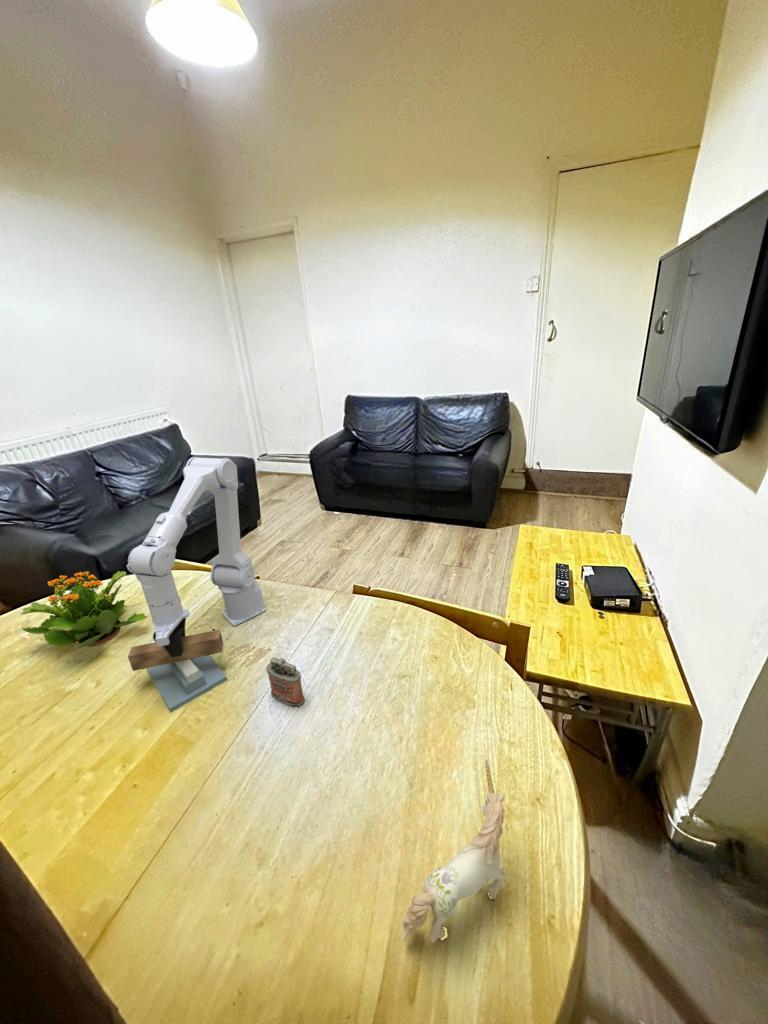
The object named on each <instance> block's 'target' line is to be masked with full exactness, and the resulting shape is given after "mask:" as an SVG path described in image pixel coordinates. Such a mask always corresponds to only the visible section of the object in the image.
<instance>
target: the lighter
mask: <svg viewBox="0 0 768 1024" xmlns="http://www.w3.org/2000/svg"><path fill="white" fill-rule="evenodd" d="M265 671H266V674H267V675H268V679H269V683H270V684H269V686H270V690H271V691H270V695H271V697H272V698H273V699H274V700H275V701H277V702H279V703H280V704H282V705H284V704H285V705H284V706H287V705H288V706H287V707H289V706H291V707H290V708H294V707H300V706H302V705H303V704H304V705H305V703H304V702H306V699H305V696H304V694H303V687H302V682H301V680H302V674H301V672H300V671H299V670H298V669H297V666H296V665H295V664H293V663H290V662H288V661H286V659H285V658H283V657H280V658H277V657H275V656H272V657H271V658H269V663H268V664H267V665H266V667H265ZM304 705H303V706H304ZM303 706H302V707H303ZM300 708H301V707H300Z"/></svg>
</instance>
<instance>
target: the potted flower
mask: <svg viewBox="0 0 768 1024" xmlns="http://www.w3.org/2000/svg"><path fill="white" fill-rule="evenodd" d="M73 575H74V577H70V578H68V575H59V578H55V579H53V580H49V581H47V585H48V587H49V588H51V590H52V592H54V593H53V595H49V596H48V598H47V602H49V605H48V604H45V603H42V604H41V603H39V602H36V601H35V602H34V601H33V602H31V603H30V606H28V607H24V608H22V611H21V613H20V615H26V614H31V613H44V614H45V613H47V614H51V615H49V618H46V619H45V620H44V621H43V622H41V623H40V626H38V627H36V626H33V627H24V628H22V629H21V630H22V631H23V632H27V633H29V634H33V635H34V634H35V635H43V637H44V640H45V641H46V642H47V643H48V645H51V646H54V647H65V646H69V645H75V644H77V643H78V645H77V646H74V648H75V649H83V648H85V647H86V648H90V647H91V648H92V647H97V646H100V645H102V644H106V643H107V642H109V641H111V640H112V639H113V638H115V637H117V635H118V634H119V633H120V631H121V629H122V628H123V627H124V626H128V625H130V624H134V623H137V622H139V621H143V620H145V619H146V618H148V615H145V614H146V613H142V612H141V613H137V612H135V613H133V614H131V615H130V616H128V618H127V619H126V620H125V621H124V620H122V621H121V620H120V618H121V617H122V616H123V615H124V614H125V613H126V612H127V608H125V606H126V605H125V603H126V601H125V600H124V599H120V600H118V599H117V601H115V599H116V596H117V595H118V593H119V591H120V589H121V588H122V587H123V584H122V583H120V584H119V586H118V587H117V588H115V590H114V591H113V592H111V590H112V588H113V587H114V585H116V583H117V582H118V581H120V579H122V578H123V577H125V576H126V575H127V572H126V571H120V570H119V571H117V572H115V573H114V574H113V575H112V577H111V579H110V581H108V583H107V584H106V585H107V586H106V587H105V588H102V589H101V592H100V593H99V594H98V593H97V592H96V591H97V590H98V589H99V587H101V586H103V585H104V582H103V581H101V580H99V579H98V577H96V576H95V575H94V574H90V571H88V570H87V571H86V570H85V571H84V572H82V571H79V572H76V573H74V574H73ZM53 588H54V590H53ZM67 591H69V593H66V592H67ZM110 592H111V593H110ZM114 601H115V603H114ZM58 602H60V604H59V605H58Z"/></svg>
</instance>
